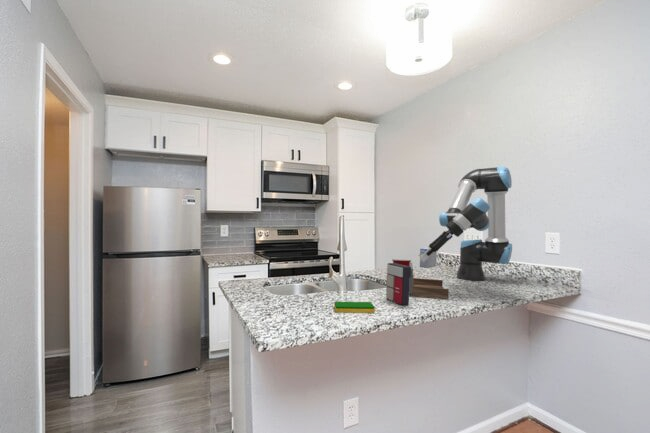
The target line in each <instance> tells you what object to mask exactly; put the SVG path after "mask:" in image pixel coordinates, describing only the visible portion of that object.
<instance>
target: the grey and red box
mask: <svg viewBox="0 0 650 433" xmlns="http://www.w3.org/2000/svg"><path fill="white" fill-rule="evenodd" d="M386 267H387V268H386V291H385V297H386V299H387V300H389V301H391V302H393V303H396V304H399V305H401V306H408V305H410V296H409V278H410V276H411V267H410V266H405V265H401V264H397V263H393V262H388V263H387V264H386Z"/></svg>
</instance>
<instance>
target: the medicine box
mask: <svg viewBox="0 0 650 433" xmlns="http://www.w3.org/2000/svg"><path fill="white" fill-rule="evenodd" d="M419 249H420V250H419V254H420V256H421V255H422V254H424V253H425V252H426V251H427V250H428V249H429V248H427V247H424V248H423V247H422V248H419ZM420 256H419V257H420ZM419 267H420V268H423V269H430V268H435V267H437V251H436V252H434V253H433V254H432V255H431V256H430V257H429V258H428V259H426V260H425V261H424V262H423V261H422V260H421V259H420V258H419Z"/></svg>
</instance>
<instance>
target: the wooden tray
mask: <svg viewBox="0 0 650 433" xmlns="http://www.w3.org/2000/svg"><path fill="white" fill-rule="evenodd" d="M409 266H410V267H411V276H410V278H409V297H418V298H426V299H427V298H429V299H441V300H449V288H444V286H443V285H444V283H443V282H444V280H443V279H433V278H431V279H430V278H420V277H419V278H417V277H415V276H414V275H415V274H414V267H413V262H409Z"/></svg>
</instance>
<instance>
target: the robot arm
mask: <svg viewBox="0 0 650 433" xmlns="http://www.w3.org/2000/svg"><path fill="white" fill-rule="evenodd" d="M512 181H513V180H512V175H511V172H510V170H509V168H508V167H506V166H498V167H486V168H477V169H473V170H471V171H470V172H468V173H466V174H465V175H464V176H463V177H462V178H461V179H460V180H459V182H458V185H457V186H458V189H457V191H456V193H455V195H454V197H453V199H452V201H451V204H450V206H449V207H448V209H447V211H442V212H440V214H439V217H438V220H439V224H440V226H441V227H445V228H447V229H448V230H444V231H442V233H441V234H439V236H438V237H436V239H435V240H433V241H432V242H431V243H430V244H429V245H428V246H427V247H426V248H429V249H428V250H427V251H426V252H425V253H424V254H422V255H421V256H420V253H419V254H418V257H419V260H420V259H421V260H422V261H423V262H424V261H425V260H426V259H428V258H429V257H430V256H431V255H432V254H433V253H434V252H436V253H437V252H438V251H439V250H440V249H441V248H442V247H443V246H444V245H445V244H447V242H448V241H450V240H451V239H452V238H453V235H454V236H455V237H456V238H457V237H458V238H459V237H460V236H461V235H462V234H463V233H464V231H467V230H468V229H469V230H470V229H471V228H473V229H474V230H476V231H479V232H484V231H486V230H487V236H488V237H486V238H485V240H484V241H483V240H482V239H468V240H467V239H466V240H462V241H460V248H459V250H460V252H459V253H460V254H459V255H460V256H459V260H460V261H459V266H458V270H457V271H456V278H458V279H459V280H466V281H476V282H477V281H479V282H480V281H485V280H486V276H485V273H484V270H483V266H482V265H483V263H488V264H489V263H491V264H498V265H499V264H500V265H501V264H502V265H507V264H509V262H510V260H511V259H512V258H511V257H512V252H513V243H510V240H509V238H507V237H506V236H507V235H506V194H507V193H508V192H509V189H511V188H512V187H513V186H512V183H513V182H512ZM477 190H483V192H484V194H485V195H486V196H487V201H485V200H484V199H483V198H481V197H476V198H475V199H473V200H472V201H471V202H470V200H471V199H470V198H471V197H472V195H473V193H474V192H476V191H477ZM469 202H470V203H469Z"/></svg>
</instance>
